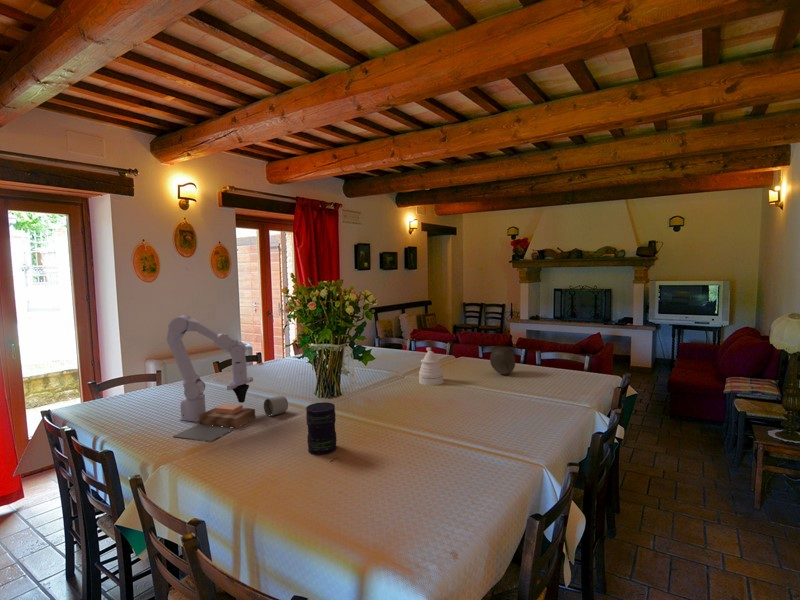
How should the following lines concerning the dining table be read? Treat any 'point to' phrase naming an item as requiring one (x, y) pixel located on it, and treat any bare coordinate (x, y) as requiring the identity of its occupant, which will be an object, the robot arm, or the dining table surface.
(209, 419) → the deck
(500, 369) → the dark brown round vase
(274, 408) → the grey cylinder
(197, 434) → the mat
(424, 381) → the honey pot
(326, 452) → the storage jar
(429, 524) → the dining table surface
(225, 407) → the salmon pink panel
